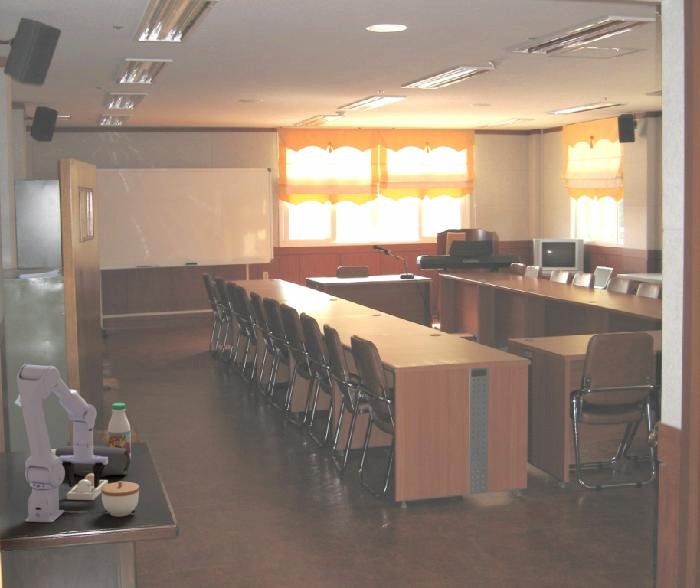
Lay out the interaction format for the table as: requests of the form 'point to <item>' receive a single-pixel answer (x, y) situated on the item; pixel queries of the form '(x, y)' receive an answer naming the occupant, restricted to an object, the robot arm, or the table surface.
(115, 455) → the bluetooth speaker
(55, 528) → the table surface
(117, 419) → the milk bottle
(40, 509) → the robot arm
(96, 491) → the white divided tray
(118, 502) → the lidded jar
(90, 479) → the brown egg
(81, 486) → the white egg
